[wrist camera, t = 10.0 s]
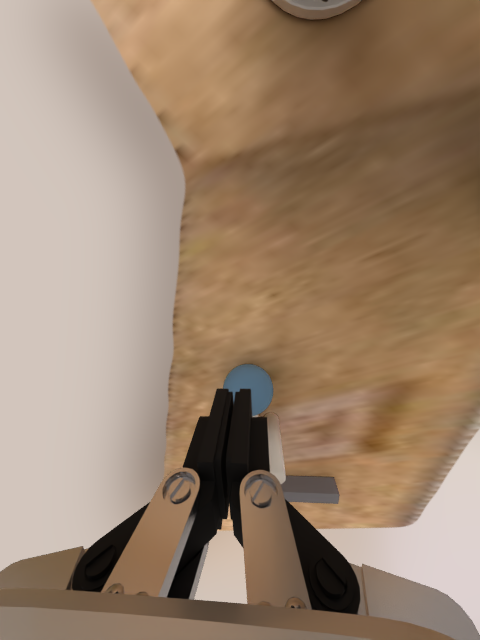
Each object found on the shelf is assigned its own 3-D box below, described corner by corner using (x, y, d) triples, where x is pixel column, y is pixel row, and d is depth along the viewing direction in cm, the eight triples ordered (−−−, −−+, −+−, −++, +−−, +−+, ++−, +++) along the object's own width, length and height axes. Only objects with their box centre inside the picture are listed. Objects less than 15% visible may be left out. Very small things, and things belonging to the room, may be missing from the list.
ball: (223, 421, 28) (229, 376, 32) (272, 425, 27) (272, 378, 31) (215, 403, 24) (223, 353, 27) (274, 407, 23) (274, 355, 27)
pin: (263, 412, 32) (264, 469, 24) (278, 412, 32) (285, 470, 24) (263, 425, 33) (265, 484, 25) (278, 425, 33) (285, 485, 25)
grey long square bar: (182, 472, 37) (176, 487, 35) (333, 477, 35) (339, 494, 33) (183, 481, 38) (178, 497, 35) (332, 486, 36) (338, 503, 33)
